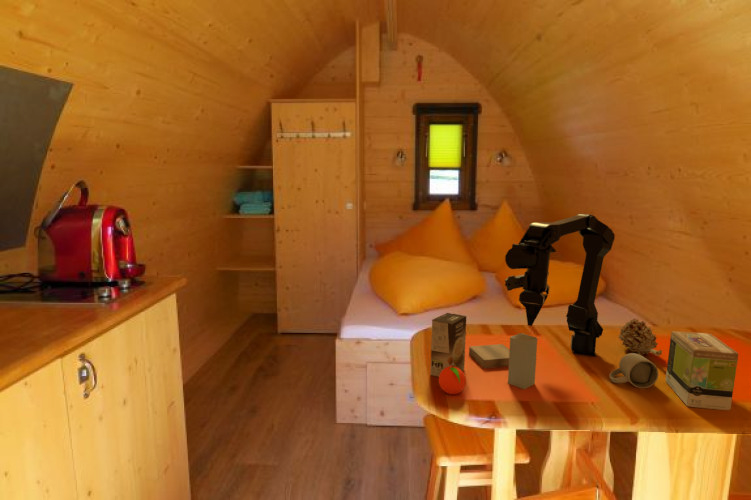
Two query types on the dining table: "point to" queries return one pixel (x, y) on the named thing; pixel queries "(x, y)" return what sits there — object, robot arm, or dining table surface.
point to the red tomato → (452, 380)
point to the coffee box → (448, 342)
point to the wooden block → (522, 360)
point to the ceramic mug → (635, 371)
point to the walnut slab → (490, 355)
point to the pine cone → (639, 338)
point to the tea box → (701, 370)
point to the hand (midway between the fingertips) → (531, 321)
